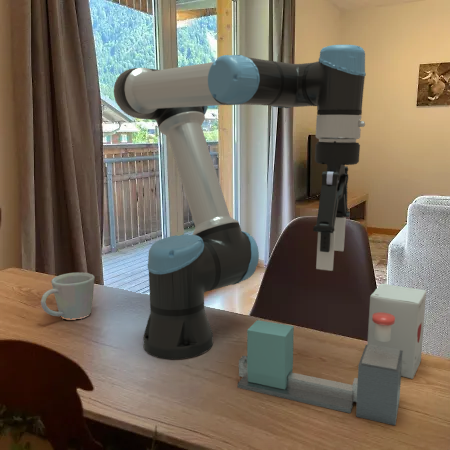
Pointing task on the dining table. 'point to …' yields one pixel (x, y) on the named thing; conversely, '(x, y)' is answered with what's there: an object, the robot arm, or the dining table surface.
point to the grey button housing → (379, 384)
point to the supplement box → (400, 322)
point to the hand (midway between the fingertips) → (330, 259)
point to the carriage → (269, 353)
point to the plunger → (383, 326)
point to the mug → (71, 295)
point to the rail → (299, 396)
